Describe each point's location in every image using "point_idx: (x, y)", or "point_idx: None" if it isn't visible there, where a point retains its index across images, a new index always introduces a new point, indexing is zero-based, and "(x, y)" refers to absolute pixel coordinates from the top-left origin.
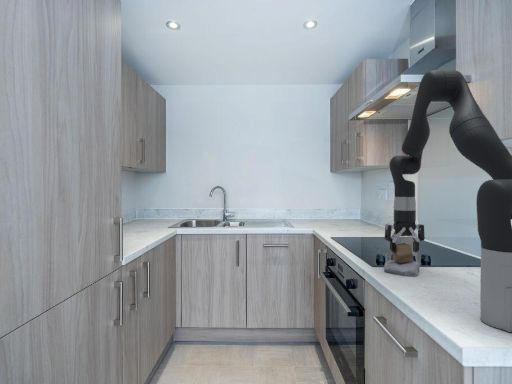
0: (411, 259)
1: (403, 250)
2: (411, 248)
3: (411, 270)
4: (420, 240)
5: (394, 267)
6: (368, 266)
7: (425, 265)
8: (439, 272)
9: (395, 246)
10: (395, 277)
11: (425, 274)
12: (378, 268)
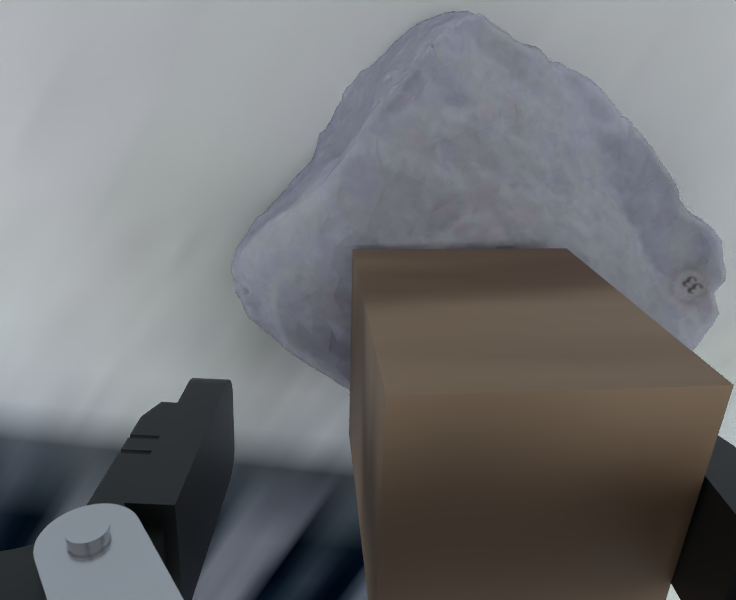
0: (376, 260)
1: (566, 334)
2: (379, 349)
3: (502, 34)
4: (7, 563)
5: (646, 212)
6: None
7: (26, 472)
8: (6, 171)
9: (707, 470)
10: (729, 16)
11: (241, 103)
12: None
